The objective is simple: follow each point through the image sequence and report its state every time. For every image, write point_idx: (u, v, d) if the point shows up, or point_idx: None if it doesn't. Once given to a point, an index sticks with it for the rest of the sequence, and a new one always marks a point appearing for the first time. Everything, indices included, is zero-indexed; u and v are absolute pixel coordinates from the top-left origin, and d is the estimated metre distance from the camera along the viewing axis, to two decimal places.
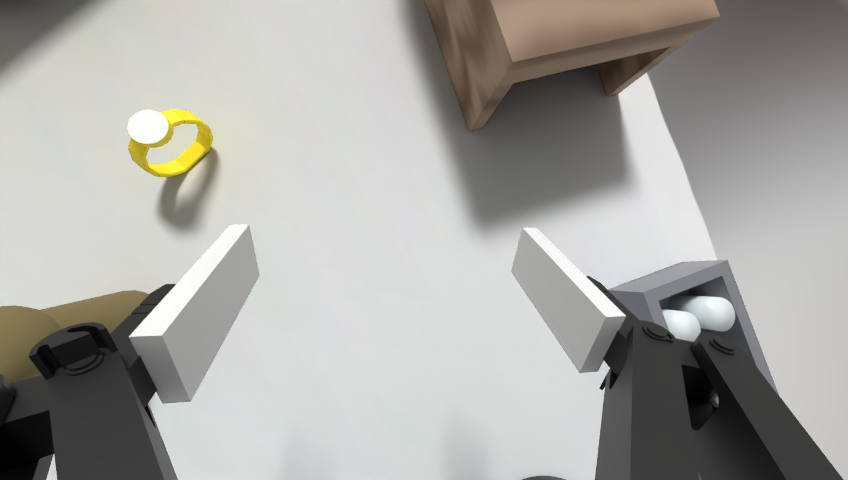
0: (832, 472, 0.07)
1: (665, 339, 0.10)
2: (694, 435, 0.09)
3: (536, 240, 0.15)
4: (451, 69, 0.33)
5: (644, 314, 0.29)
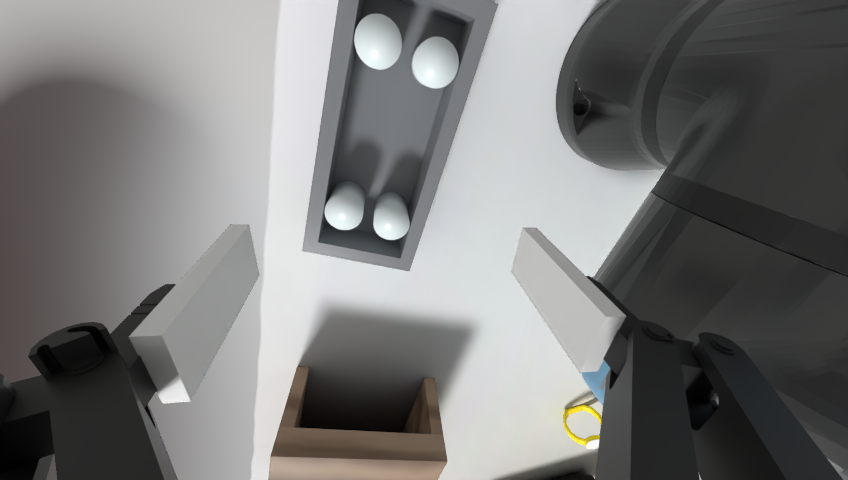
0: (832, 472, 0.07)
1: (665, 340, 0.10)
2: (694, 435, 0.09)
3: (536, 240, 0.15)
4: None
5: None
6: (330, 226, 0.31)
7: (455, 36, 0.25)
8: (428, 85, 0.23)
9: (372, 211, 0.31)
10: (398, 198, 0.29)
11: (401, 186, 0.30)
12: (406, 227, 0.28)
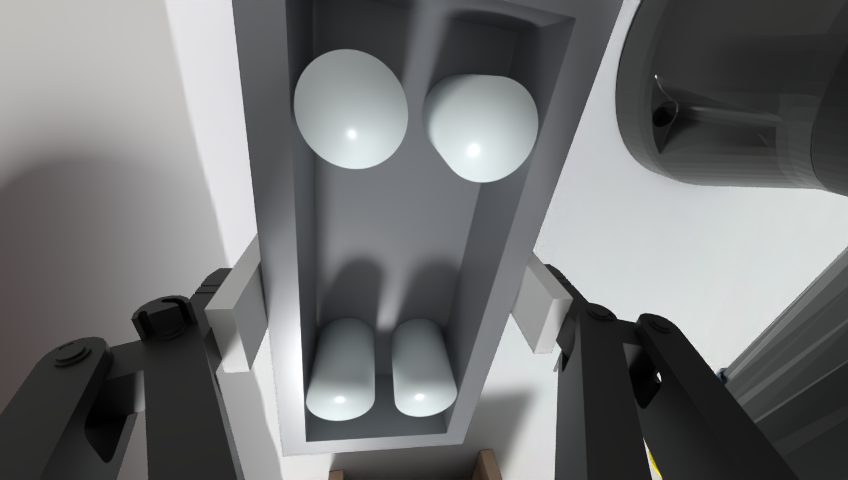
0: (760, 435, 0.07)
1: (607, 319, 0.10)
2: (642, 413, 0.09)
3: None
4: None
5: None
6: None
7: (505, 55, 0.12)
8: (474, 178, 0.10)
9: (388, 348, 0.19)
10: (429, 336, 0.17)
11: (430, 309, 0.18)
12: (452, 396, 0.16)
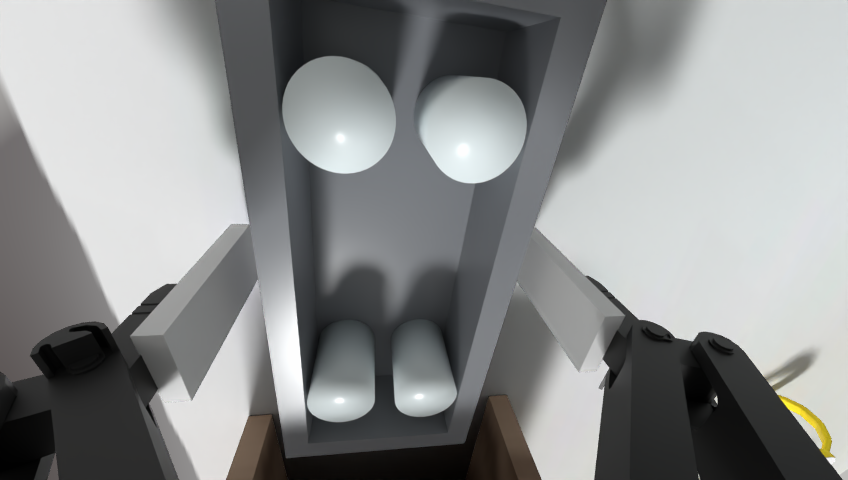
0: (831, 472, 0.07)
1: (664, 339, 0.10)
2: (693, 435, 0.09)
3: (535, 240, 0.15)
4: None
5: None
6: None
7: (495, 55, 0.12)
8: (465, 180, 0.10)
9: (389, 349, 0.19)
10: (428, 336, 0.17)
11: (429, 309, 0.18)
12: (452, 396, 0.16)
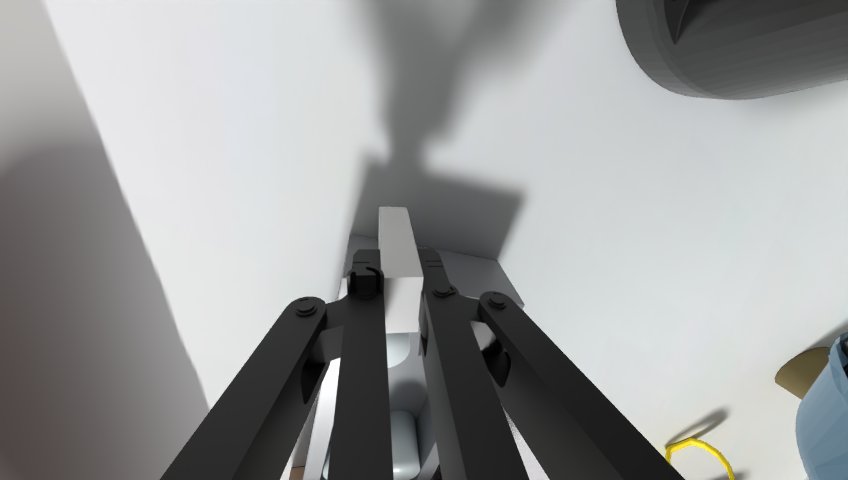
0: (588, 383, 0.08)
1: (450, 293, 0.11)
2: (502, 392, 0.10)
3: (395, 216, 0.16)
4: None
5: None
6: None
7: None
8: None
9: None
10: (406, 426, 0.26)
11: (409, 405, 0.27)
12: (416, 472, 0.25)
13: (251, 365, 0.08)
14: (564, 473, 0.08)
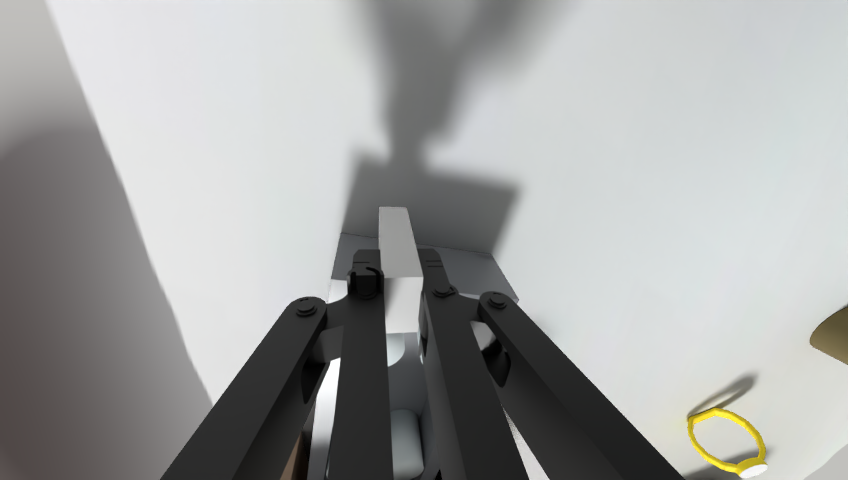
0: (588, 383, 0.08)
1: (450, 293, 0.11)
2: (502, 392, 0.10)
3: (396, 216, 0.16)
4: None
5: None
6: None
7: None
8: None
9: None
10: (408, 425, 0.26)
11: (410, 404, 0.27)
12: (420, 470, 0.24)
13: (251, 365, 0.08)
14: (564, 473, 0.08)
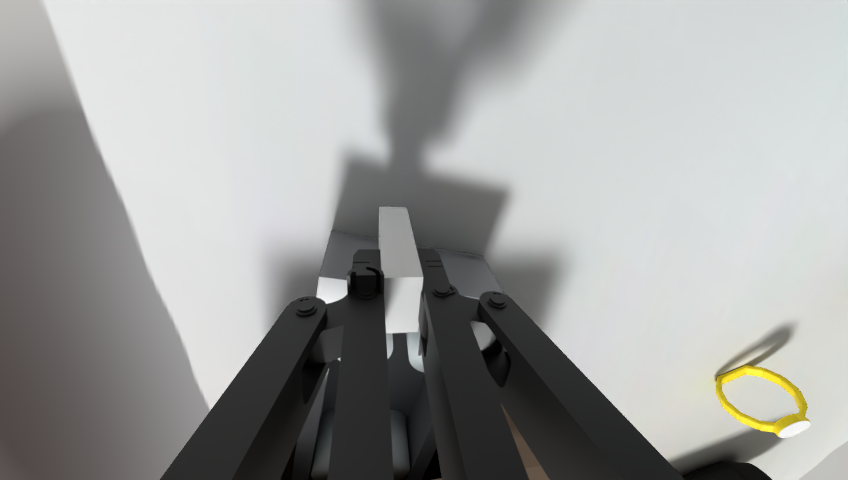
0: (588, 383, 0.08)
1: (449, 293, 0.11)
2: (502, 392, 0.10)
3: (395, 216, 0.16)
4: None
5: None
6: None
7: None
8: None
9: None
10: (396, 426, 0.26)
11: (399, 404, 0.27)
12: (406, 471, 0.24)
13: (251, 365, 0.08)
14: (564, 473, 0.08)
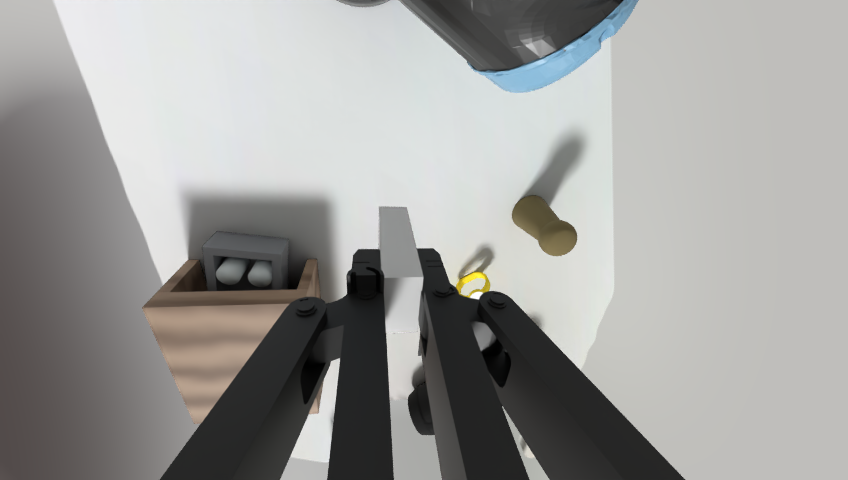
0: (588, 383, 0.08)
1: (450, 293, 0.11)
2: (502, 392, 0.10)
3: (396, 216, 0.16)
4: (319, 294, 0.53)
5: None
6: None
7: None
8: (259, 286, 0.46)
9: None
10: None
11: None
12: None
13: (251, 365, 0.08)
14: (564, 473, 0.08)
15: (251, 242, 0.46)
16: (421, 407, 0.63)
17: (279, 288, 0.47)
